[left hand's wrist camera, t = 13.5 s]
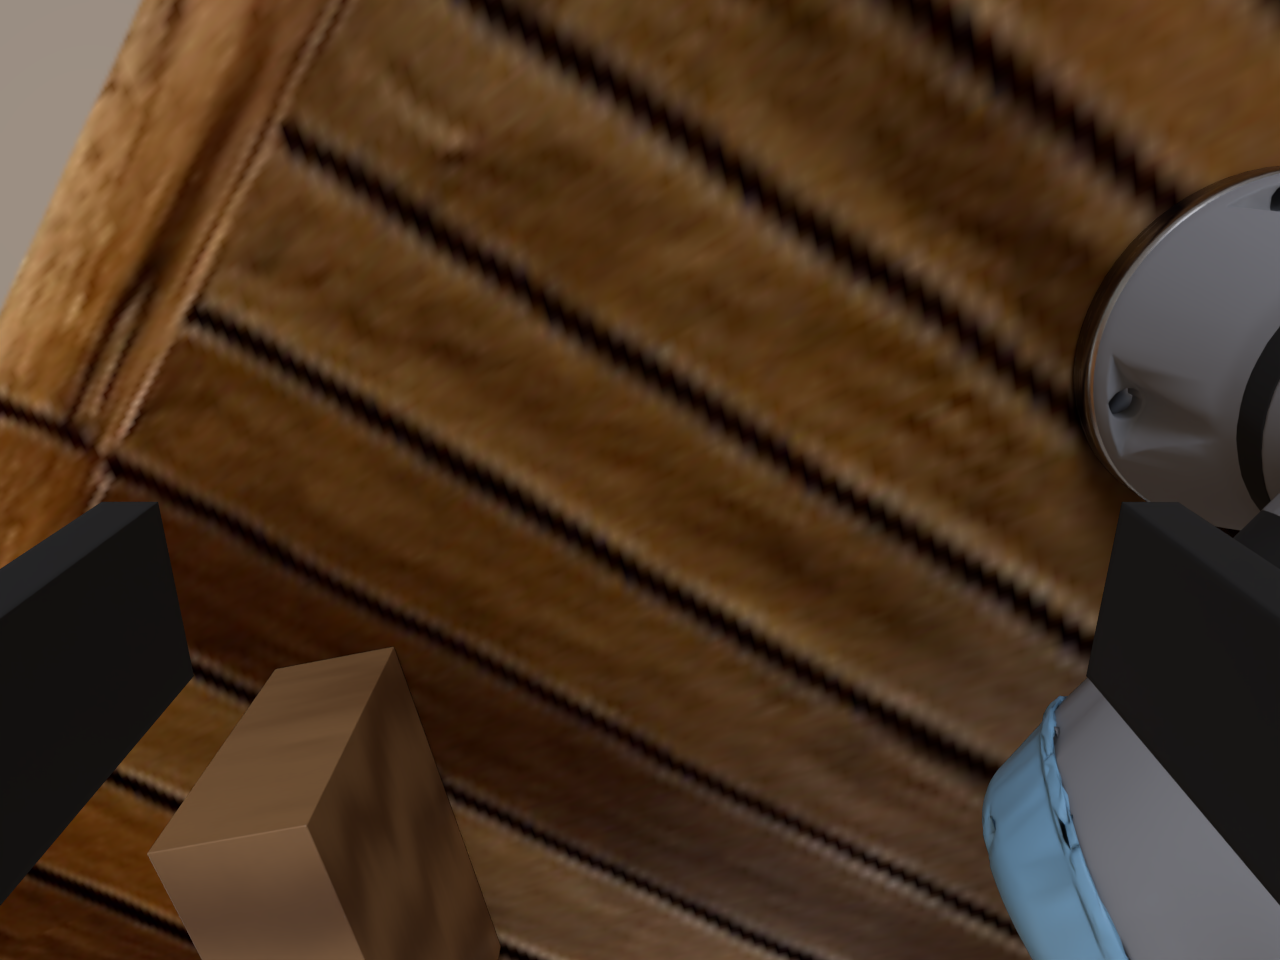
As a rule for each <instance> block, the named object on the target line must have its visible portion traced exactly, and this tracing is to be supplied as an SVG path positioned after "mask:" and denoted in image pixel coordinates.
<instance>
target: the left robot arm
mask: <svg viewBox="0 0 1280 960" xmlns="http://www.w3.org/2000/svg"><path fill="white" fill-rule="evenodd" d="M1074 396H1075V403H1076V409H1077V413H1078V417H1079V421H1080V424H1081V427H1082V430H1083V432H1084V435H1085V437H1086V439H1087V441H1088V443H1089V445H1090V447H1091V449H1092V451H1093V452H1094V454H1095V455H1096V456H1097V458H1098V459H1099V461H1100V462H1101V464H1102V465H1103V466H1104V467H1105V468H1106V469H1107V470H1108V471H1109V472H1110V474H1111V475H1113V476H1114V477H1115V478H1116V479H1117V480H1118V481H1119V482H1121V483H1122V484H1123V485H1124V486H1126V487H1127V488H1129V489H1130V490H1132V491H1133V492H1134V493H1136V494H1137V495H1139V496H1140V497H1142V498H1143V499H1145V500H1146V501H1147V502H1122V505H1121V509H1120V514H1119V519H1118V524H1117V529H1116V534H1115V539H1114V544H1113V548H1112V553H1111V558H1110V563H1109V568H1108V573H1107V578H1106V583H1105V587H1104V592H1103V597H1102V602H1101V607H1100V612H1099V617H1098V621H1097V626H1096V631H1095V636H1094V641H1093V646H1092V651H1091V656H1090V660H1089V665H1088V670H1087V675H1086V676H1087V677H1088V678H1087V679H1086V680H1085V681H1083V682H1082V683H1081V684H1080V685H1079V686H1078V687H1077V688H1076V689H1075V690H1074V691H1073V692H1072V693H1071V694H1070V695H1069V696H1065V697H1063V696H1059V697H1058V698H1057V699H1055V700H1054V701H1053V702H1052V703H1051V704H1050V705H1049V706H1048V707H1047V709H1046V711H1045V712H1044V715H1043V720H1042V723H1041V724H1040V725H1039V726H1038V727H1037V728H1036V729H1035V730H1034V731H1033V732H1032V734H1031V735H1030V736H1029V737H1028V738H1027V739H1026V740H1025V741H1024V742H1023V743H1022V745H1021V746H1020V747H1019V748H1018V749H1017V750H1016V751H1015V752H1014V753H1013V754H1012V755H1011V756H1010V757H1009V758H1008V760H1007V761H1006V762H1005V763H1004V764H1003V765H1002V766H1001V767H1000V768H999V769H998V770H997V772H996V773H995V775H994V776H993V778H992V779H991V781H990V783H989V785H988V788H987V791H986V794H985V798H984V803H983V810H982V823H983V836H984V841H985V844H986V847H987V850H988V854H989V861H990V868H991V871H992V874H993V877H994V879H995V882H996V885H997V888H998V890H999V893H1000V895H1001V898H1002V900H1003V903H1004V905H1005V907H1006V909H1007V912H1008V914H1009V916H1010V918H1011V920H1012V922H1013V924H1014V926H1015V928H1016V930H1017V932H1018V934H1019V936H1020V938H1021V940H1022V941H1023V943H1024V945H1025V947H1026V949H1027V951H1028V953H1029V954H1030V956H1031V958H1032V960H1280V166H1275V167H1266V168H1261V169H1257V170H1252V171H1247V172H1244V173H1241V174H1238V175H1234V176H1231V177H1228V178H1226V179H1223V180H1221V181H1218V182H1216V183H1214V184H1211V185H1209V186H1207V187H1205V188H1203V189H1201V190H1199V191H1197V192H1195V193H1193V194H1192V195H1190V196H1188V197H1187V198H1185V199H1184V200H1182V201H1180V202H1179V203H1177V204H1176V205H1174V206H1173V207H1171V208H1170V209H1169V210H1167V211H1166V212H1165V213H1163V214H1162V215H1161V216H1159V217H1158V218H1157V219H1156V220H1155V221H1153V222H1152V223H1151V224H1150V225H1149V226H1148V227H1147V228H1146V229H1144V230H1143V231H1142V232H1141V233H1140V234H1139V235H1138V236H1137V237H1136V239H1135V240H1134V241H1133V242H1132V243H1131V244H1130V245H1129V246H1128V247H1127V248H1126V250H1125V251H1124V252H1123V253H1122V254H1121V256H1120V257H1119V258H1118V259H1117V261H1116V262H1115V263H1114V265H1113V266H1112V268H1111V269H1110V271H1109V272H1108V274H1107V275H1106V276H1105V278H1104V280H1103V282H1102V283H1101V285H1100V287H1099V289H1098V290H1097V292H1096V294H1095V296H1094V298H1093V300H1092V303H1091V305H1090V307H1089V309H1088V311H1087V314H1086V317H1085V320H1084V323H1083V325H1082V328H1081V332H1080V336H1079V340H1078V344H1077V349H1076V356H1075V362H1074ZM1215 526H1216V527H1215ZM1217 527H1222V528H1229V529H1235V530H1241V531H1240V532H1239V533H1238V534H1237V535H1236V536H1235V537H1234V538H1232V537H1230V536H1229V535H1227V534H1226V533H1224V532H1223V531H1221V530H1220V529H1218V528H1217ZM193 676H194V675H193V670H192V665H191V660H190V656H189V651H188V646H187V641H186V636H185V631H184V626H183V621H182V617H181V612H180V607H179V602H178V597H177V592H176V587H175V583H174V578H173V573H172V568H171V563H170V558H169V553H168V548H167V544H166V539H165V534H164V529H163V524H162V519H161V514H160V509H159V505H158V502H101V503H99V504H98V505H96V506H95V507H93V508H92V509H90V510H89V511H87V512H86V513H84V514H83V515H81V516H80V517H78V518H77V519H75V520H74V521H72V522H71V523H69V524H68V525H66V526H65V527H63V528H62V529H60V530H59V531H57V532H56V533H54V534H53V535H51V536H50V537H48V538H47V539H45V540H44V541H42V542H40V543H39V544H37V545H36V546H34V547H33V548H31V549H30V550H28V551H27V552H25V553H24V554H22V555H21V556H19V557H18V558H16V559H15V560H13V561H12V562H10V563H9V564H7V565H6V566H4V567H3V568H1V569H0V905H1V904H2V903H3V902H4V900H5V899H6V898H7V897H8V896H9V895H10V893H11V892H12V891H13V890H14V889H15V887H16V886H17V885H18V884H19V883H20V881H21V880H22V879H23V878H24V877H25V876H26V874H27V873H28V872H29V871H30V870H31V868H32V867H33V866H34V865H35V864H36V862H37V861H38V860H39V859H40V858H41V857H42V855H43V854H44V853H45V852H46V851H47V849H48V848H49V847H50V846H51V845H52V843H53V842H54V841H55V840H56V839H57V838H58V836H59V835H60V834H61V833H62V832H63V830H64V829H65V828H66V827H67V826H68V824H69V823H70V822H71V821H72V820H73V819H74V817H75V816H76V815H77V814H78V813H79V811H80V810H81V809H82V808H83V807H84V806H85V804H86V803H87V802H88V801H89V800H90V798H91V797H92V796H93V795H94V794H95V792H96V791H97V790H98V789H99V788H100V787H101V785H102V784H103V783H104V782H105V781H106V779H107V778H108V777H109V776H110V775H111V773H112V772H113V771H114V770H115V769H116V768H117V766H118V765H119V764H120V763H121V762H122V760H123V759H124V758H125V757H126V756H127V754H128V753H129V752H130V751H131V750H132V749H133V747H134V746H135V745H136V744H137V743H138V741H139V740H140V739H141V738H142V737H143V736H144V734H145V733H146V732H147V731H148V730H149V728H150V727H151V726H152V725H153V724H154V722H155V721H156V720H157V719H158V718H159V717H160V715H161V714H162V713H163V712H164V711H165V709H166V708H167V707H168V706H169V705H170V703H171V702H172V701H173V700H174V699H175V698H176V696H177V695H178V694H179V693H180V692H181V690H182V689H183V688H184V687H185V686H186V684H187V683H188V682H189V681H190V680H191V679H192V677H193Z"/></svg>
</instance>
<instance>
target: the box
mask: <svg viewBox="0 0 1280 960" xmlns="http://www.w3.org/2000/svg"><path fill="white" fill-rule="evenodd" d="M148 856H149V858H150V860H151V862H152V864H153V866H154V868H155V870H156V872H157V874H158V876H159V878H160V880H161V881H162V883H163V885H164V887H165V889H166V891H167V893H168V895H169V897H170V899H171V901H172V903H173V905H174V907H175V909H176V910H177V912H178V914H179V916H180V918H181V920H182V922H183V924H184V926H185V928H186V930H187V932H188V934H189V936H190V938H191V939H192V941H193V943H194V945H195V947H196V949H197V951H198V953H199V955H200V957H201V959H202V960H498V958H499V952H500V943H499V940H498V937H497V935H496V932H495V929H494V926H493V923H492V921H491V918H490V915H489V912H488V909H487V907H486V904H485V901H484V898H483V895H482V893H481V890H480V887H479V884H478V881H477V879H476V876H475V873H474V870H473V867H472V865H471V862H470V859H469V856H468V853H467V851H466V848H465V845H464V842H463V839H462V837H461V834H460V831H459V828H458V825H457V823H456V820H455V817H454V814H453V811H452V809H451V806H450V803H449V800H448V797H447V795H446V792H445V789H444V786H443V783H442V781H441V778H440V775H439V772H438V769H437V767H436V764H435V761H434V758H433V755H432V753H431V750H430V747H429V744H428V741H427V739H426V736H425V733H424V730H423V727H422V725H421V722H420V719H419V716H418V713H417V711H416V708H415V705H414V702H413V699H412V696H411V694H410V691H409V688H408V685H407V682H406V680H405V677H404V674H403V671H402V668H401V666H400V663H399V660H398V657H397V654H396V652H395V649H394V647H390V648H385V649H379V650H374V651H369V652H364V653H358V654H353V655H348V656H343V657H337V658H332V659H327V660H322V661H316V662H311V663H306V664H301V665H295V666H290V667H285V668H279V669H275V671H274V672H273V673H272V675H271V676H270V678H269V679H268V681H267V682H266V683H265V685H264V686H263V688H262V689H261V691H260V692H259V694H258V695H257V696H256V698H255V699H254V701H253V702H252V704H251V705H250V706H249V708H248V709H247V711H246V712H245V714H244V715H243V717H242V718H241V719H240V721H239V722H238V724H237V725H236V727H235V728H234V729H233V731H232V732H231V734H230V735H229V737H228V738H227V740H226V741H225V742H224V744H223V745H222V747H221V748H220V750H219V751H218V752H217V754H216V755H215V757H214V758H213V760H212V761H211V763H210V764H209V765H208V767H207V768H206V770H205V771H204V773H203V774H202V776H201V777H200V778H199V780H198V781H197V783H196V784H195V786H194V787H193V788H192V790H191V791H190V793H189V794H188V796H187V797H186V799H185V800H184V801H183V803H182V804H181V806H180V807H179V809H178V810H177V811H176V813H175V814H174V816H173V817H172V819H171V820H170V822H169V823H168V824H167V826H166V827H165V829H164V830H163V832H162V833H161V834H160V836H159V837H158V839H157V840H156V842H155V843H154V845H153V846H152V847H151V849H150V850H149V852H148Z"/></svg>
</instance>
